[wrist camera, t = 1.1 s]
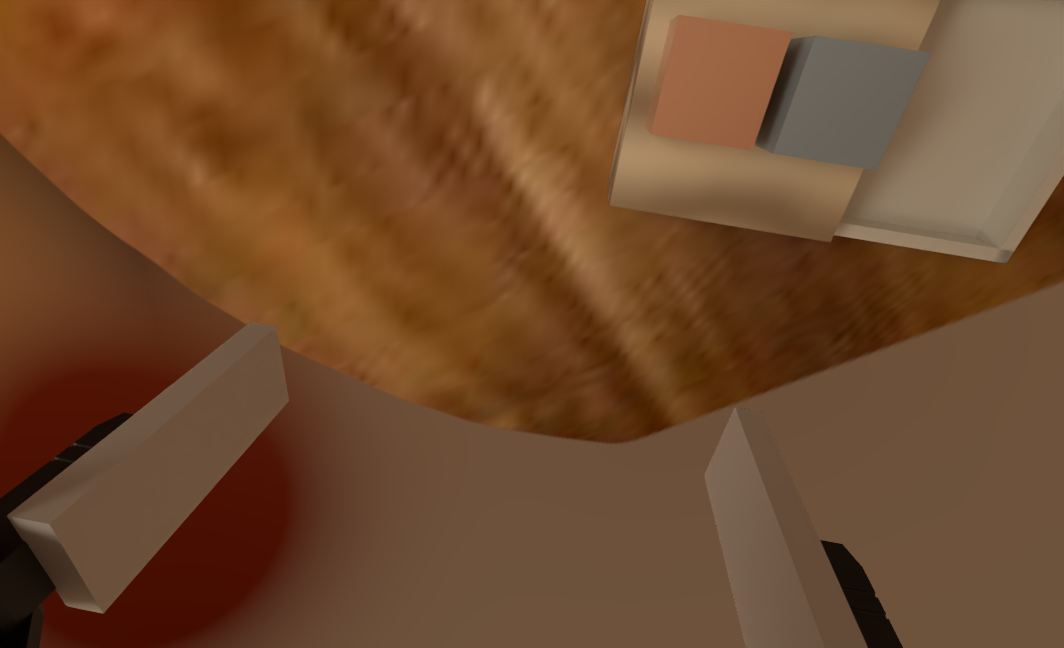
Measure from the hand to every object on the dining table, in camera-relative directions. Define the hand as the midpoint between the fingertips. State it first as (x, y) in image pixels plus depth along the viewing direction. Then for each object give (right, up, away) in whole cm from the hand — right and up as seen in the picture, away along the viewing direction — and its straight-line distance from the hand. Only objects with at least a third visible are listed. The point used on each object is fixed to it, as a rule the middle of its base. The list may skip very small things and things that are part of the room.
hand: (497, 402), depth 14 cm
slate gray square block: (+16, +14, +11) cm, 24 cm away
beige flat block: (+14, +17, +15) cm, 26 cm away
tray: (+26, +14, +15) cm, 33 cm away
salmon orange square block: (+10, +15, +11) cm, 21 cm away
